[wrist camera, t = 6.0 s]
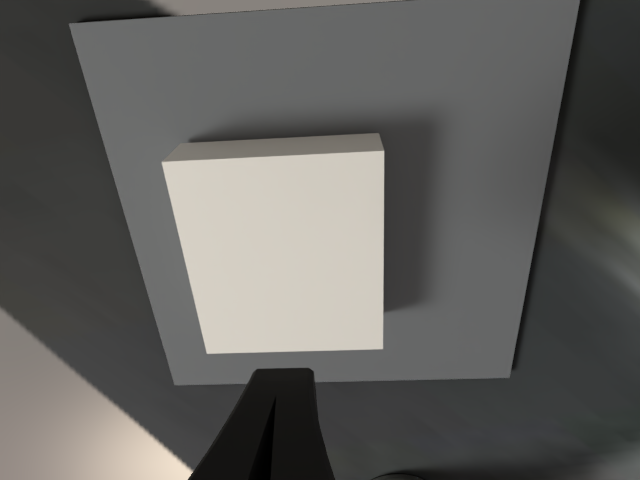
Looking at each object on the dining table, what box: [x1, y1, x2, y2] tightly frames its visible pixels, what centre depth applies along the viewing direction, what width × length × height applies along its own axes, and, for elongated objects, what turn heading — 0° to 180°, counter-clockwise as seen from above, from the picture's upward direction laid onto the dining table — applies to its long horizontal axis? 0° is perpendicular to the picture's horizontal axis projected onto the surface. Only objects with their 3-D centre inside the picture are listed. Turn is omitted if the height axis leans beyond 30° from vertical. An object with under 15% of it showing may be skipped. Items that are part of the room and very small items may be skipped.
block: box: [162, 133, 384, 354], centre depth 17 cm, size 2×8×7 cm
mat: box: [69, 0, 580, 385], centre depth 18 cm, size 16×16×1 cm
